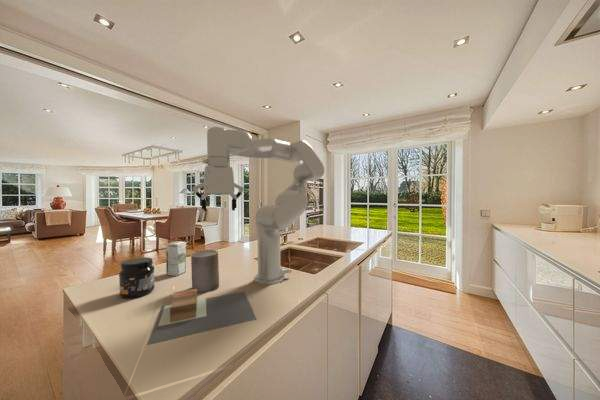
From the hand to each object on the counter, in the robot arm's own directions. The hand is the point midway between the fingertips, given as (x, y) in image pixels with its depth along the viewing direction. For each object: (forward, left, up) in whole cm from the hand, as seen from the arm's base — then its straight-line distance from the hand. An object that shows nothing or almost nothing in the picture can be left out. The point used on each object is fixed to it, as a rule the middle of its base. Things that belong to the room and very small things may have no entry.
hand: (219, 210), depth 79 cm
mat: (+5, +13, -30) cm, 33 cm away
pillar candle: (+5, -8, -31) cm, 32 cm away
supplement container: (+28, -14, -31) cm, 44 cm away
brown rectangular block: (+11, +9, -30) cm, 33 cm away
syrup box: (+17, -31, -31) cm, 47 cm away
